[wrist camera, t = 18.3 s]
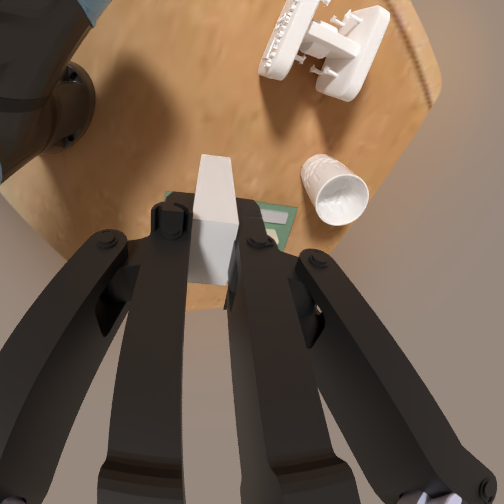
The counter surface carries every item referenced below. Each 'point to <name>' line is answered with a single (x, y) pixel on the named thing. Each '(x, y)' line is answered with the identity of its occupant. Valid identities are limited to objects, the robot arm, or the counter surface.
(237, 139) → the counter surface
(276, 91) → the counter surface
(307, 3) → the cable organizer
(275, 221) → the board
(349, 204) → the white cup
